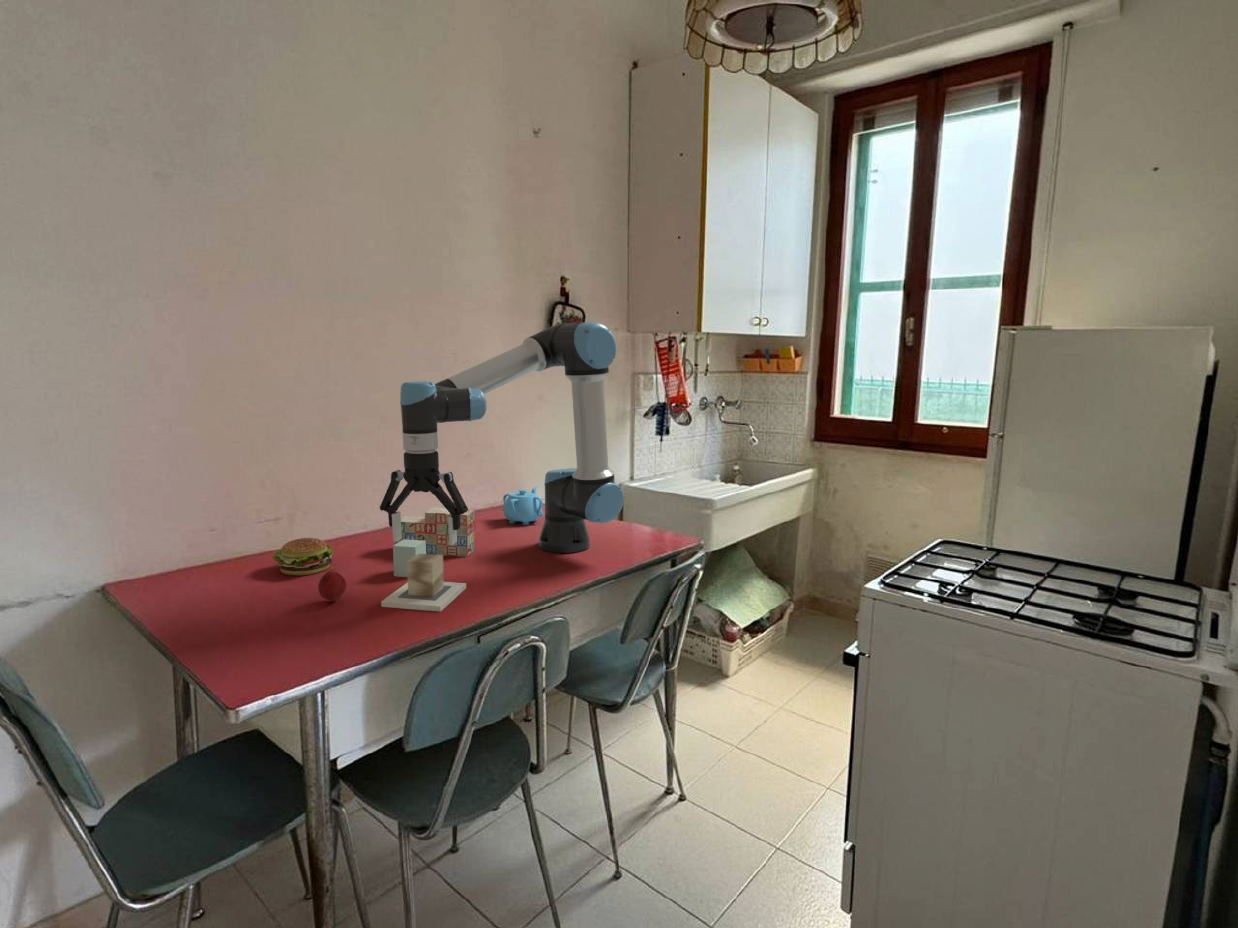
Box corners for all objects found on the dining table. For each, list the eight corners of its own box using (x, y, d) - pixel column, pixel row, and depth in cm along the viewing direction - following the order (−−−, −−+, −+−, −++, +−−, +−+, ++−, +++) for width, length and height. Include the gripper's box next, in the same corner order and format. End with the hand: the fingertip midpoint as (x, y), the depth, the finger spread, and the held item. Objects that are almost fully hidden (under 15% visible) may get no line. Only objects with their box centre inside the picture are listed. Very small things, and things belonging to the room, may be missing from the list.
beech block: (443, 587, 159) (442, 555, 157) (433, 596, 153) (432, 563, 152) (419, 585, 160) (418, 553, 158) (408, 594, 154) (407, 561, 152)
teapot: (506, 529, 218) (507, 495, 215) (500, 516, 231) (500, 484, 229) (545, 526, 222) (545, 494, 220) (536, 514, 235) (536, 483, 233)
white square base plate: (466, 588, 163) (466, 582, 162) (440, 611, 148) (440, 605, 148) (411, 583, 165) (411, 578, 164) (381, 606, 150) (381, 600, 150)
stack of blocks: (394, 553, 189) (392, 510, 187) (404, 546, 195) (402, 505, 193) (468, 557, 187) (467, 514, 185) (475, 550, 193) (474, 509, 191)
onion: (329, 608, 148) (327, 574, 147) (313, 603, 151) (311, 569, 150) (352, 600, 153) (350, 567, 152) (336, 595, 156) (334, 562, 155)
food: (264, 569, 173) (262, 539, 172) (319, 557, 184) (317, 529, 182) (286, 582, 164) (284, 551, 163) (342, 569, 174) (340, 540, 173)
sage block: (426, 570, 175) (425, 540, 174) (416, 577, 169) (415, 547, 168) (405, 568, 176) (404, 539, 175) (394, 576, 170) (392, 545, 169)
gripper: (360, 451, 149) (366, 543, 153) (467, 455, 145) (470, 549, 149) (377, 446, 156) (382, 534, 160) (479, 449, 152) (482, 539, 156)
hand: (425, 541), depth 154 cm, fingers open, 13 cm apart
